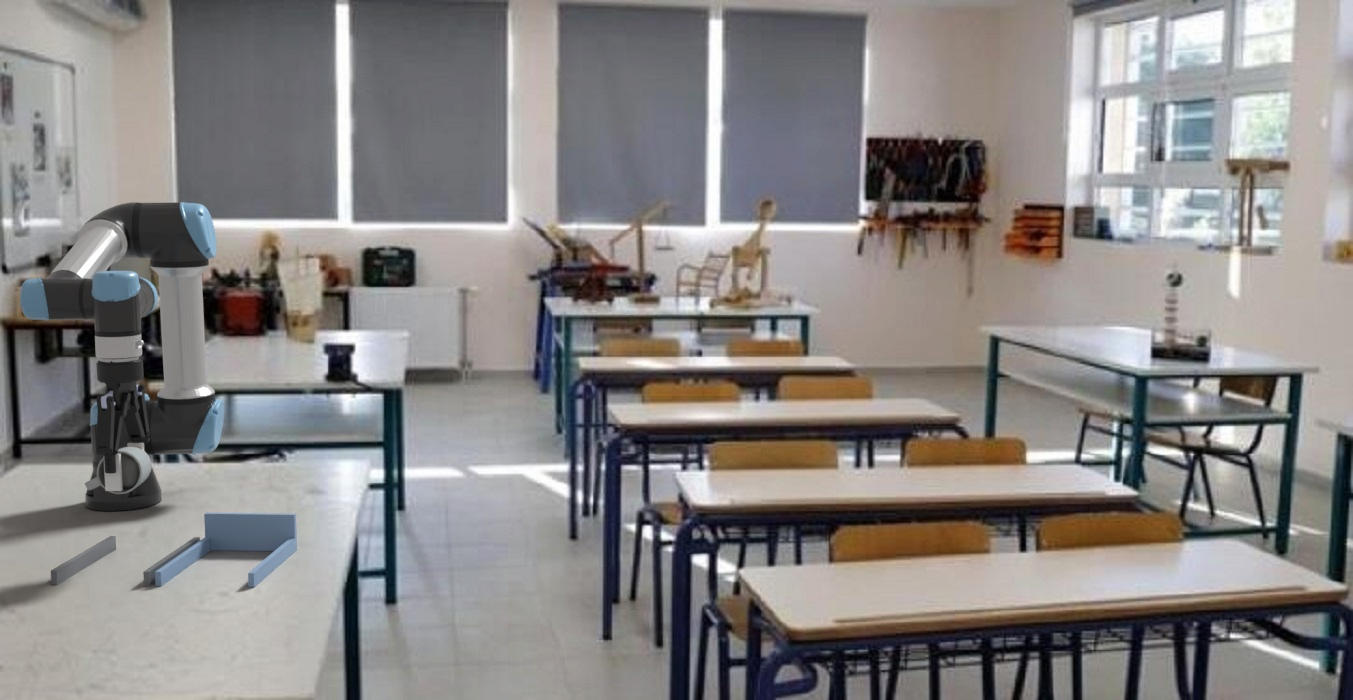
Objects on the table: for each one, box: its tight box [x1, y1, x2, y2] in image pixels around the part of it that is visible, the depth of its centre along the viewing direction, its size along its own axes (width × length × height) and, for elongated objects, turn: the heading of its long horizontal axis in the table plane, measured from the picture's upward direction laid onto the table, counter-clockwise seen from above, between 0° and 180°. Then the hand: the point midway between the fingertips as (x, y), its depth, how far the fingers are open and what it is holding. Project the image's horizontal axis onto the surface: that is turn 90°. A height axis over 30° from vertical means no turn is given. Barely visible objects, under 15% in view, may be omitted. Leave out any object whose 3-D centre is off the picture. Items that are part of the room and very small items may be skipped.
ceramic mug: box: [84, 447, 153, 494], centre depth 224 cm, size 11×8×8 cm
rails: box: [50, 535, 201, 587], centre depth 226 cm, size 22×17×2 cm
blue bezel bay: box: [155, 512, 298, 588], centre depth 226 cm, size 23×17×7 cm
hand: (125, 484), depth 225 cm, fingers closed on ceramic mug, 8 cm apart
